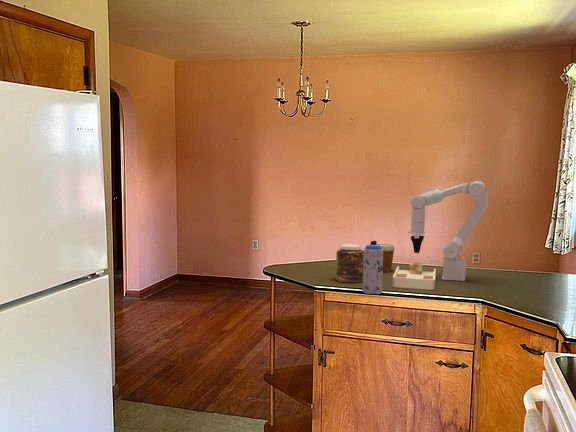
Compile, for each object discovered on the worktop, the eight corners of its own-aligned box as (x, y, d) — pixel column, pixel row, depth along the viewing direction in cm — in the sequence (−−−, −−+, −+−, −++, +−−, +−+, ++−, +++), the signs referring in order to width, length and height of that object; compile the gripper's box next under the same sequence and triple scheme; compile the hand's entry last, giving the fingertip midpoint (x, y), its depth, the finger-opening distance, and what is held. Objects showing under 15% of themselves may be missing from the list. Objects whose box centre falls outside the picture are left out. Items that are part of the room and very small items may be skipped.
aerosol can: (377, 294, 203) (379, 243, 201) (359, 292, 207) (360, 241, 205) (385, 290, 209) (387, 240, 207) (367, 288, 213) (368, 238, 211)
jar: (355, 276, 236) (355, 242, 235) (368, 281, 225) (369, 246, 224) (331, 278, 232) (331, 244, 230) (344, 283, 221) (344, 248, 219)
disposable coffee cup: (388, 273, 241) (389, 247, 240) (370, 271, 247) (370, 245, 246) (397, 270, 249) (398, 245, 248) (379, 268, 255) (380, 243, 254)
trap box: (435, 277, 234) (435, 268, 233) (434, 290, 211) (435, 280, 211) (397, 275, 239) (397, 266, 238) (392, 287, 216) (392, 277, 215)
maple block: (421, 272, 233) (422, 263, 232) (421, 274, 228) (421, 265, 228) (410, 271, 234) (410, 262, 234) (409, 273, 229) (409, 264, 229)
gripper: (409, 220, 244) (408, 249, 246) (407, 223, 230) (406, 254, 232) (425, 220, 242) (424, 250, 244) (424, 224, 228) (423, 255, 230)
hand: (416, 252), depth 238 cm, fingers open, 3 cm apart
